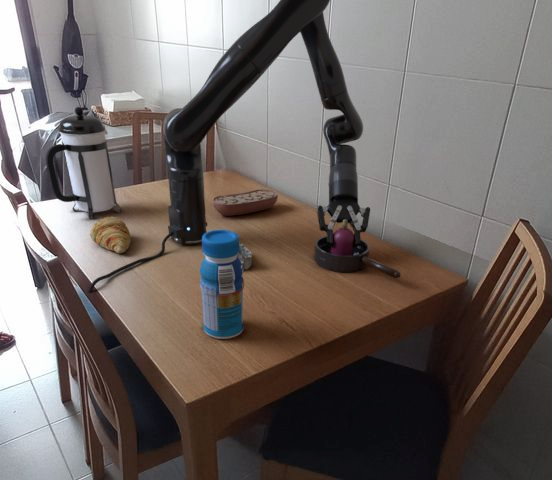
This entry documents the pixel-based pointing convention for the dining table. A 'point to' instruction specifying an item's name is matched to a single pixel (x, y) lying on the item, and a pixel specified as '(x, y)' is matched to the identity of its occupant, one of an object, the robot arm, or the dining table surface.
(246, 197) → the anatomical model
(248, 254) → the grey irregular chunk
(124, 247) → the croissant
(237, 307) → the beverage bottle
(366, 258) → the pan handle
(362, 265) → the pan
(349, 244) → the purple eggplant
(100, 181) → the coffee press
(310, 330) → the dining table surface
